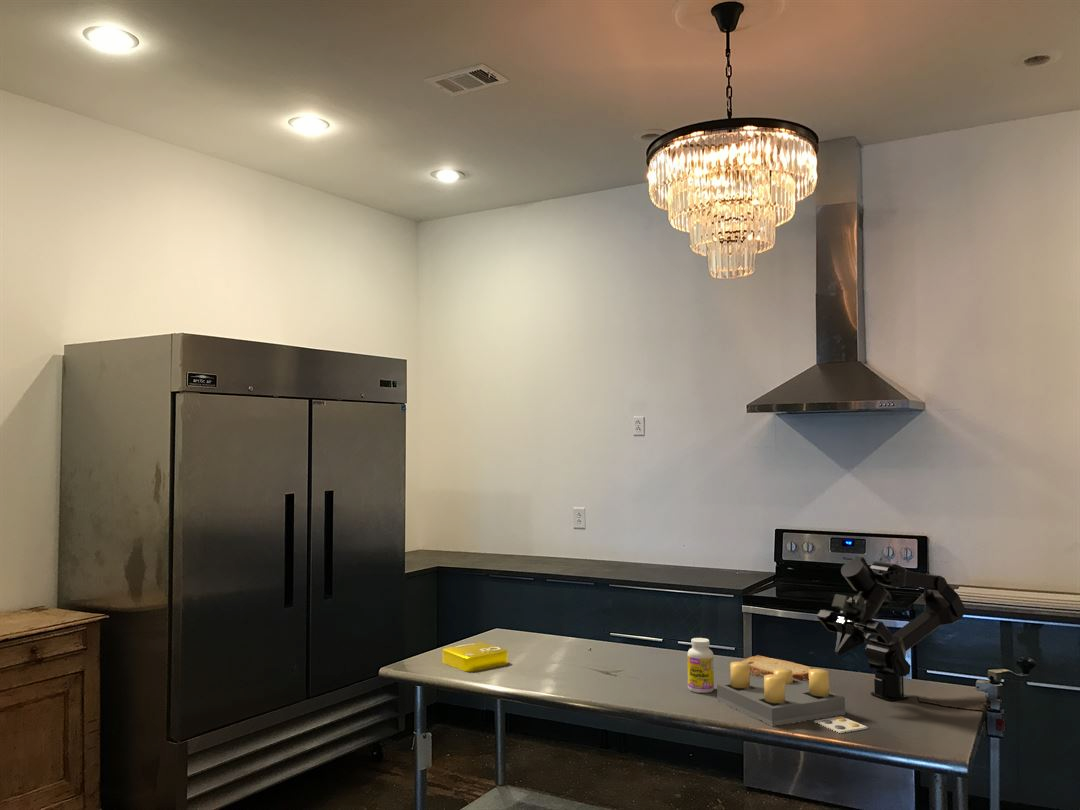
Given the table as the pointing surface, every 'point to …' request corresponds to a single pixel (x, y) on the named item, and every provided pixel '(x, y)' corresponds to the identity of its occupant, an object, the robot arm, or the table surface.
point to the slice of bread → (775, 667)
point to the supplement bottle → (700, 666)
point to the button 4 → (819, 682)
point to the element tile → (475, 656)
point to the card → (841, 724)
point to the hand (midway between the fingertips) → (836, 654)
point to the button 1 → (740, 674)
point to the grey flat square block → (792, 710)
